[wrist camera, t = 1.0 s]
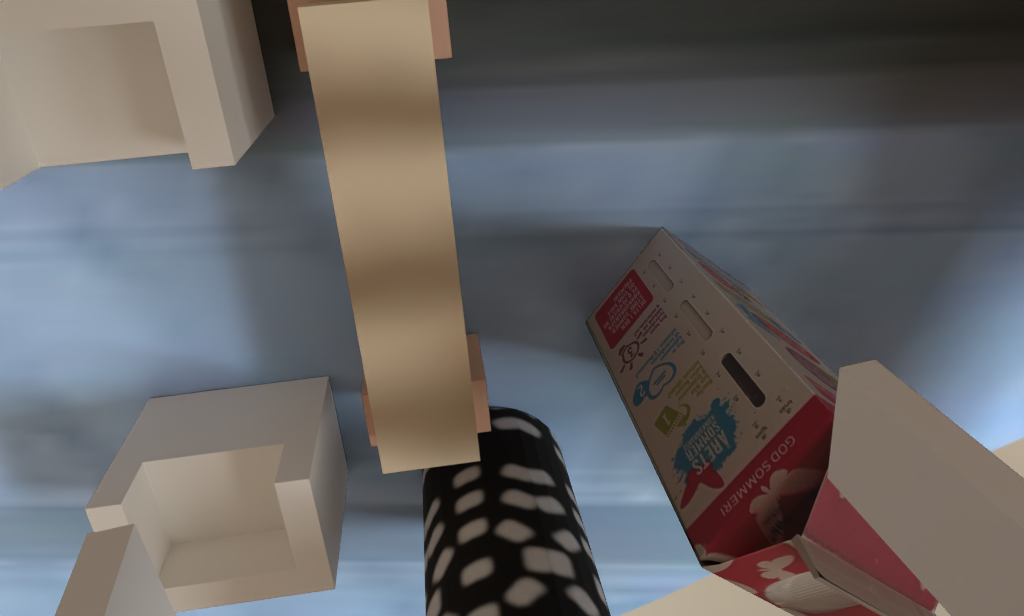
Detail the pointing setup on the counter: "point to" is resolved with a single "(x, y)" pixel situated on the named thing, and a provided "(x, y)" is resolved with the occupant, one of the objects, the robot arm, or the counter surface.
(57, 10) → the end caps
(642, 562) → the counter surface
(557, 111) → the counter surface
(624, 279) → the juice carton
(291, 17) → the plain brown rectangular block
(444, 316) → the birch slat
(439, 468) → the spotted tube
